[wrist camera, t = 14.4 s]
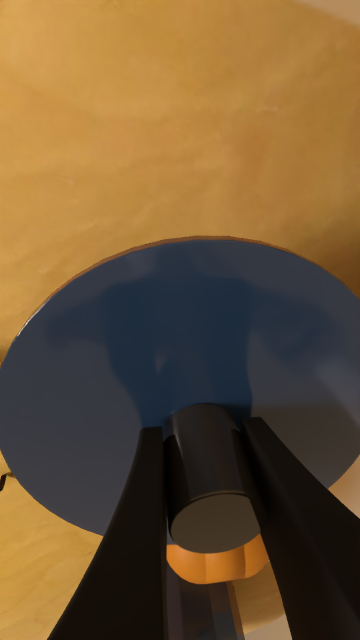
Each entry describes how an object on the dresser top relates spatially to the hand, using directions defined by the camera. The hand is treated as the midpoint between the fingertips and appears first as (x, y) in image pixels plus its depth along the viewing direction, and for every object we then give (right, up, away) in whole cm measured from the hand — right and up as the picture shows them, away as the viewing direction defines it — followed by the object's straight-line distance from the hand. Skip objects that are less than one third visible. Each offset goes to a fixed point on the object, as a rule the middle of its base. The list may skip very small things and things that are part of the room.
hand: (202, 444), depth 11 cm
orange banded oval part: (+2, -10, +14) cm, 17 cm away
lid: (0, 0, +1) cm, 1 cm away
